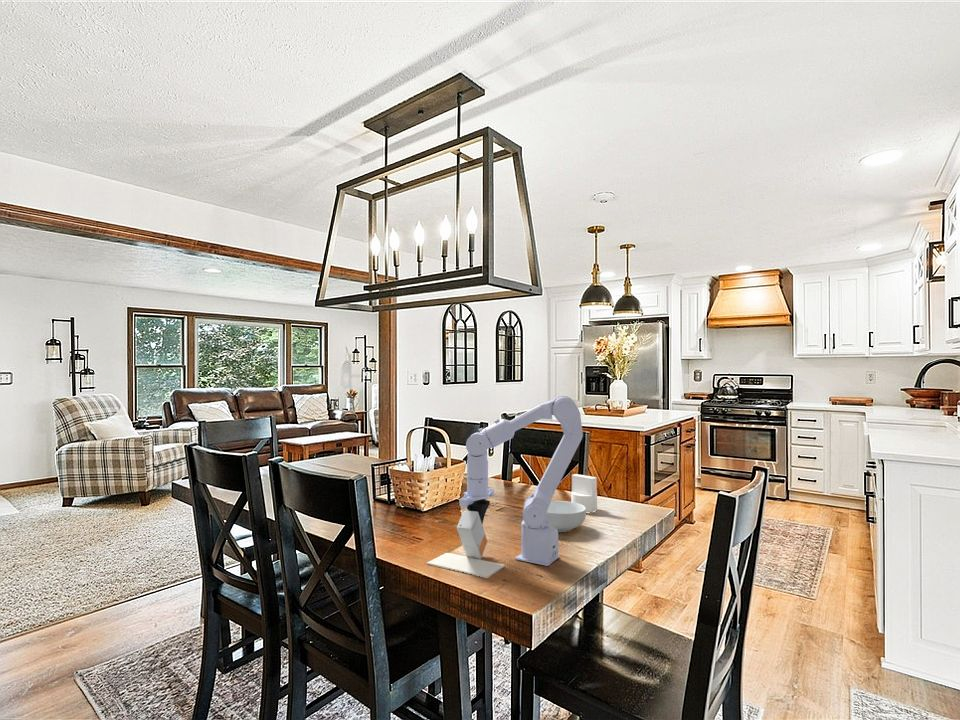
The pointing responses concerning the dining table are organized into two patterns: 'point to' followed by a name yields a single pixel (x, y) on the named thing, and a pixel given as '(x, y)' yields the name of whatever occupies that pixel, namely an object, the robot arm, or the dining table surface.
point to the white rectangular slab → (466, 565)
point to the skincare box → (472, 534)
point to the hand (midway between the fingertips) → (477, 528)
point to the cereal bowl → (565, 515)
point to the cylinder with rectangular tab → (584, 491)
